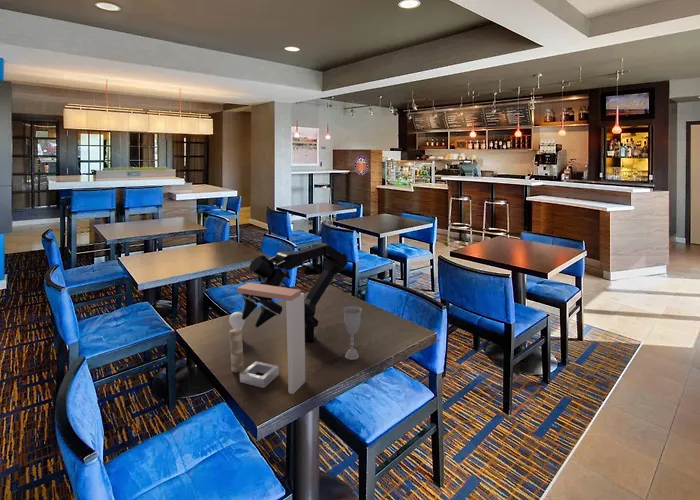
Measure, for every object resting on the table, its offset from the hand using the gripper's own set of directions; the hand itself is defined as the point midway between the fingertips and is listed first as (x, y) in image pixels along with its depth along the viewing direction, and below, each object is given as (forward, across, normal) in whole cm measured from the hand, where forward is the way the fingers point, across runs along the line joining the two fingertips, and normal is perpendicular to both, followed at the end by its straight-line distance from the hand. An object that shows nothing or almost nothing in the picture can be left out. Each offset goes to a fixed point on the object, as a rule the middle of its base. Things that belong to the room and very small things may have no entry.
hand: (249, 323), depth 151 cm
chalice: (-6, +22, +31) cm, 39 cm away
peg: (+15, +4, +2) cm, 16 cm away
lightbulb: (+8, -18, +12) cm, 23 cm away
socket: (+14, +14, +4) cm, 20 cm away
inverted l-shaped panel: (+12, +19, +6) cm, 23 cm away
